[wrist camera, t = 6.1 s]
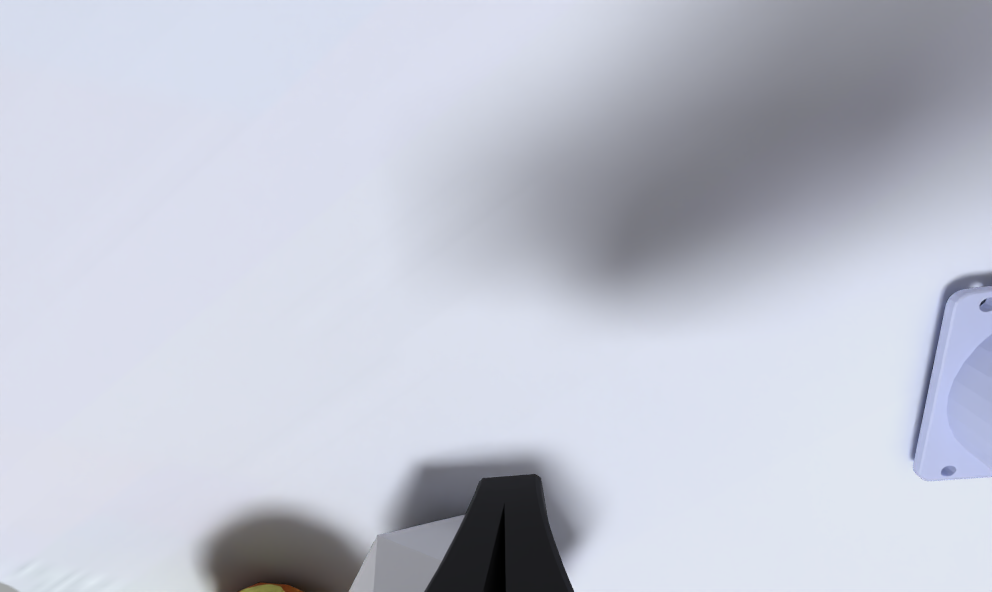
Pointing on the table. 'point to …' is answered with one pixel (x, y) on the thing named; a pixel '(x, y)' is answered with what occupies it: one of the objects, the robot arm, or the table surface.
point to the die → (406, 557)
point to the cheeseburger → (270, 588)
